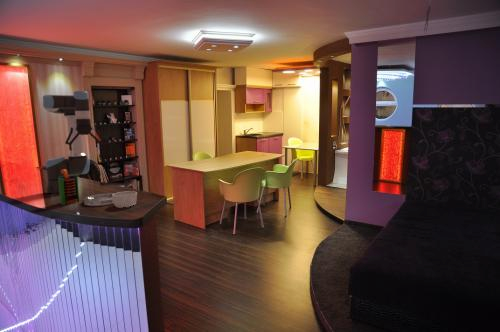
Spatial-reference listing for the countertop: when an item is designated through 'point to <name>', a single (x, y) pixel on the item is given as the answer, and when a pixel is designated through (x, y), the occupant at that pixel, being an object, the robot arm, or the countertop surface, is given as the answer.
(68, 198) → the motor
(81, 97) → the robot arm
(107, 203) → the tray
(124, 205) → the ramekin
